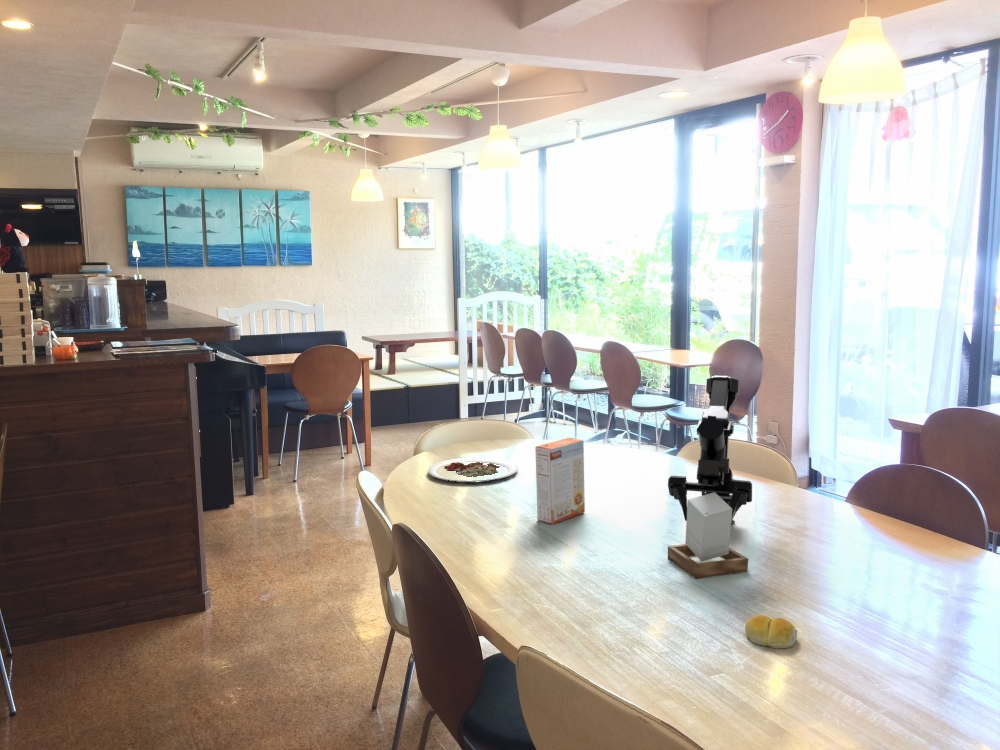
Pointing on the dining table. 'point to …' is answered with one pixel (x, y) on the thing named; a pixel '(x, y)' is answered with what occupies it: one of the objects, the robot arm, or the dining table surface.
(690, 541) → the supplement box
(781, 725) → the dining table surface
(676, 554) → the tray
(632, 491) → the dining table surface
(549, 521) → the cracker box
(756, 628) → the bread roll
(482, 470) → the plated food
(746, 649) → the dining table surface
